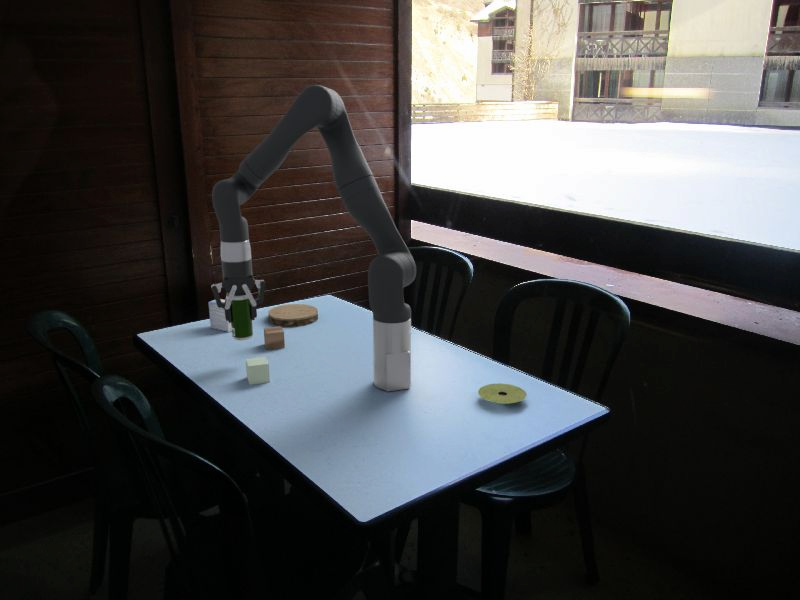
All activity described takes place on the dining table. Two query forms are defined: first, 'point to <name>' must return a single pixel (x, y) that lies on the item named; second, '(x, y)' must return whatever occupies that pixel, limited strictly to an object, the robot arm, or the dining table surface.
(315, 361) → the dining table surface
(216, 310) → the medicine box
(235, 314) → the beer can
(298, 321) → the round wood slice
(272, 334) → the walnut block
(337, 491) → the dining table surface
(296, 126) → the robot arm
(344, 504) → the dining table surface
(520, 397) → the olive yellow disc
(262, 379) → the sage block
